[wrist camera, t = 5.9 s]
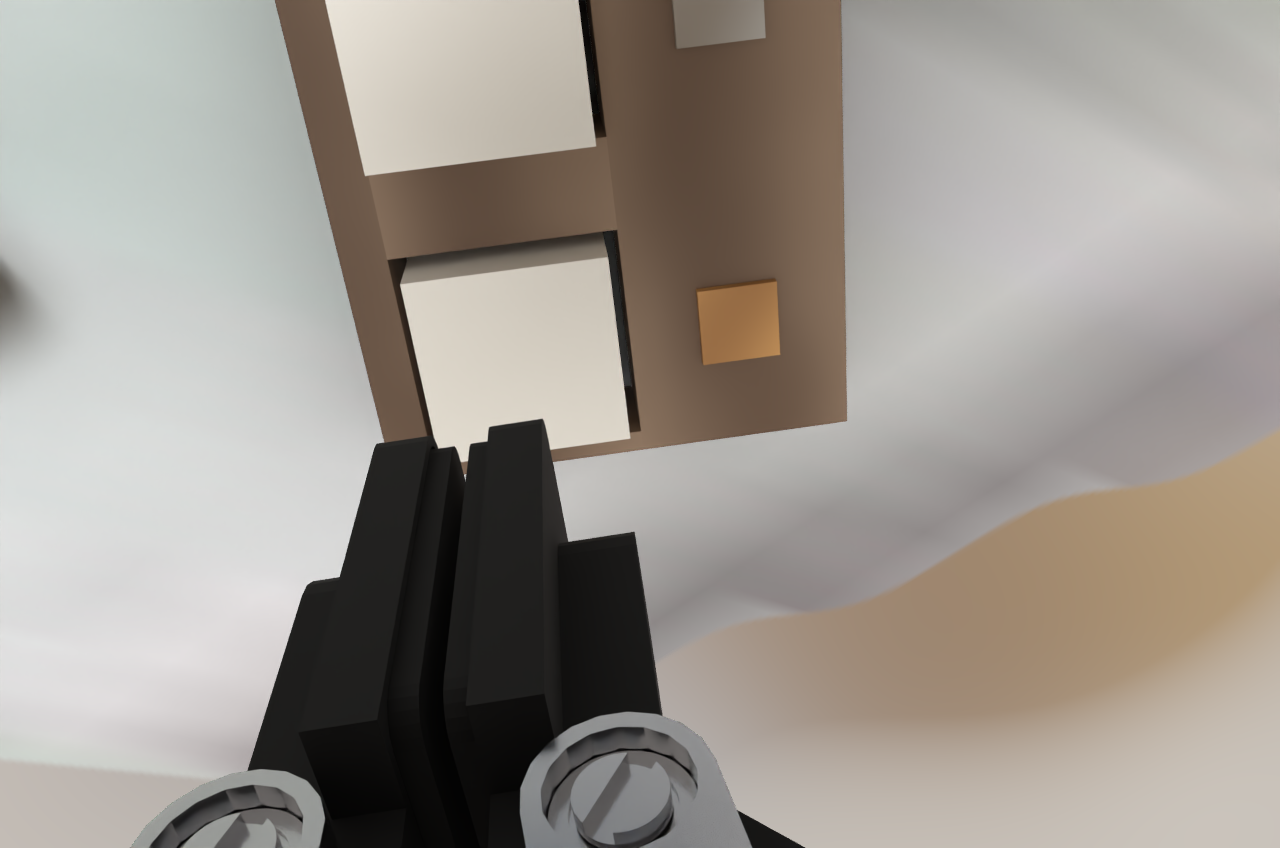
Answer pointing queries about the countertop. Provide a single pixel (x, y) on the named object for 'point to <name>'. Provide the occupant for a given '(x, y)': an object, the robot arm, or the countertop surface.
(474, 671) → the robot arm
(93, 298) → the countertop surface
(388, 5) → the middle button
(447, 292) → the end button
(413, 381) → the button board
